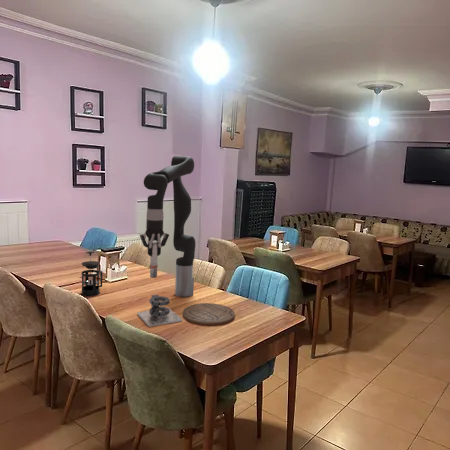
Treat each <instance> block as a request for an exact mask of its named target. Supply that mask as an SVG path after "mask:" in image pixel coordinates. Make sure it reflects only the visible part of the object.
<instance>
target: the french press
mask: <svg viewBox="0 0 450 450" xmlns="http://www.w3.org/2000/svg"><path fill="white" fill-rule="evenodd" d="M86 254H89V255H88V256H89V260H87V261H82V262H81V265H82V267H85V268H86V270H82V271H81V294H80V295H81V296H83V297H90V298H91V297H96V296H98V295H100V288H101V287H103V270H100V269H99V270H97V269H98V268H99V265H100V262H99V261H95V260H92V254H95V252H94V251H87V252H86Z"/></svg>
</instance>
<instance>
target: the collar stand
mask: <svg viewBox="0 0 450 450" xmlns="http://www.w3.org/2000/svg"><path fill="white" fill-rule="evenodd" d="M170 301H171V299H170V298H169V297H167V296H160V295H159V294H152V295H151V297H150V299H149V304H150V305H151V308H150V309H149V310H145V311H138V312H136V313H137V316H138V317H139V319H140V320H141V321H143V323H145V325H146V326H147V327H148V328H151V327H157V326H161V325H162V326H163V325H169V324H175V323H180V322H183V318H181V317H180V316H179V315H178V314H176V312H174V311H173V310H172V309H171V308H170V307H167V306H168V305H169V304H170Z"/></svg>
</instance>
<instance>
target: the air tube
mask: <svg viewBox="0 0 450 450" xmlns="http://www.w3.org/2000/svg"><path fill="white" fill-rule="evenodd" d="M151 248H152V256H149V258H150V260H149V263H150V265H149V277H150V278H151V279H152V278H155V279H156V278H158V260H159V259H158V243H157V242H156V241H153V243H152V247H151Z"/></svg>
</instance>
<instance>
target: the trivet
mask: <svg viewBox="0 0 450 450" xmlns="http://www.w3.org/2000/svg"><path fill="white" fill-rule="evenodd" d="M235 313H236V312H235V311H234V309H232V308H231V307H230V306H229V307H228V306H227V305H223V304H220V303H212V302H203V303H202V302H201V303H195V304H191V305H188V306H186V307H184V309H183V311H182V317H183V319H184V320H186V321H187V322H189V323H191V324H195V325H200V326H207V327H211V326H222V325H225V324H226V325H227V324H229V323H231V322H233V320H234V319H235V315H236V314H235Z"/></svg>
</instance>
